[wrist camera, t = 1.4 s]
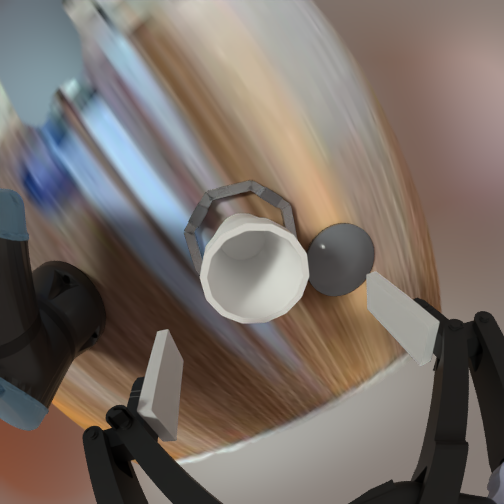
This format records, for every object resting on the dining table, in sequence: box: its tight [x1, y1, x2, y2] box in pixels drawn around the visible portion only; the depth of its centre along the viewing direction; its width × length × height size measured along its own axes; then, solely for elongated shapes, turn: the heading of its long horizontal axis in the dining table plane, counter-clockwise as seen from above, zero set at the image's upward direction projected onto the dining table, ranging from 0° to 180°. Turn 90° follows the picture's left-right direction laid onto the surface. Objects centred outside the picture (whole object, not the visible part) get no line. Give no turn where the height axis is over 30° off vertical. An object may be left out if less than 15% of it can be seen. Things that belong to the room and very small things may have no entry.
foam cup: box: [200, 213, 309, 324], centre depth 29 cm, size 10×9×13 cm
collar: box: [184, 180, 297, 275], centre depth 34 cm, size 14×14×2 cm
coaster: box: [307, 223, 374, 296], centre depth 38 cm, size 11×11×1 cm
